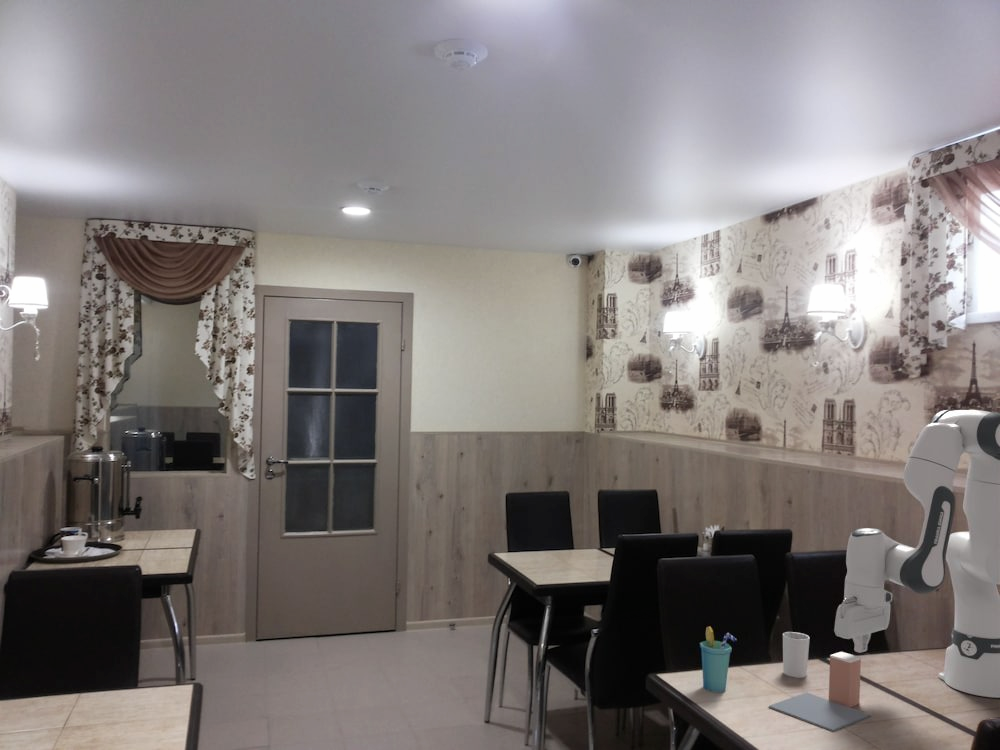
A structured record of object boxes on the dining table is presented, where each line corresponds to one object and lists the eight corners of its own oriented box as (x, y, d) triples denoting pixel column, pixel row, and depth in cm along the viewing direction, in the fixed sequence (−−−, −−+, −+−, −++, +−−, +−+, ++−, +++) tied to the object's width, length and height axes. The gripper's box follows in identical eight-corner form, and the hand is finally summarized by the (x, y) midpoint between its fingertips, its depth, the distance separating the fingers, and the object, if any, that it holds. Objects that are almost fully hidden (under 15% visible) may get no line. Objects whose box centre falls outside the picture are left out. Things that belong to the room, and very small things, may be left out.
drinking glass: (803, 680, 210) (805, 641, 210) (777, 673, 214) (779, 635, 214) (811, 673, 215) (812, 635, 216) (786, 667, 219) (787, 630, 220)
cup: (747, 698, 195) (749, 635, 196) (720, 701, 193) (722, 637, 193) (713, 678, 208) (715, 619, 209) (686, 681, 206) (689, 621, 206)
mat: (806, 694, 200) (806, 692, 200) (870, 715, 188) (870, 714, 188) (768, 707, 190) (768, 705, 190) (833, 731, 178) (833, 729, 178)
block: (839, 696, 199) (841, 651, 199) (859, 703, 195) (860, 657, 196) (828, 700, 196) (830, 654, 196) (848, 707, 192) (850, 660, 192)
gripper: (854, 602, 192) (851, 661, 192) (896, 593, 205) (893, 649, 205) (829, 596, 197) (826, 653, 197) (871, 587, 210) (868, 641, 209)
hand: (860, 651), depth 201 cm, fingers closed
